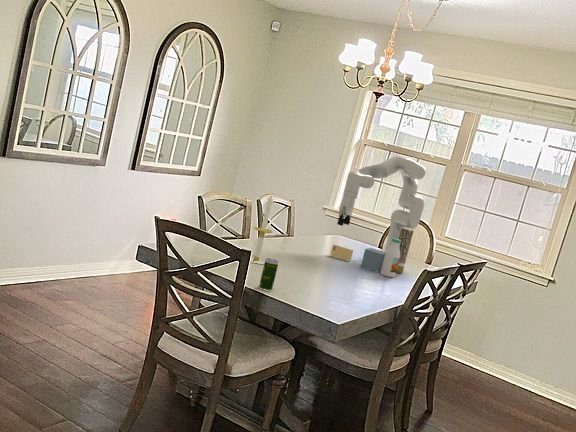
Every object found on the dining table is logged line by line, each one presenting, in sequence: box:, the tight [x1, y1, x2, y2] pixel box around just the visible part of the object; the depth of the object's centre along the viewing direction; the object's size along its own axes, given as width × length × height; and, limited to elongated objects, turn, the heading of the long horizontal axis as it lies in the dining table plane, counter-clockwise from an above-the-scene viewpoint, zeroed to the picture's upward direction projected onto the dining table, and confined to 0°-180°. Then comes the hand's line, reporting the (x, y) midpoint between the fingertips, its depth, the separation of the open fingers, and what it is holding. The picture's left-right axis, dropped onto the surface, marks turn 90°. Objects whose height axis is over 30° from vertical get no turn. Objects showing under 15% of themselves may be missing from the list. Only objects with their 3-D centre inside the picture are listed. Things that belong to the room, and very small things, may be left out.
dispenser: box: [360, 247, 386, 273], centre depth 365 cm, size 10×10×10 cm
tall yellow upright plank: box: [329, 243, 354, 262], centre depth 373 cm, size 1×12×6 cm, turn 65°
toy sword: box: [253, 193, 273, 262], centre depth 311 cm, size 10×10×32 cm
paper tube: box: [396, 227, 415, 274], centre depth 373 cm, size 7×7×25 cm
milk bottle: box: [380, 238, 401, 278], centre depth 356 cm, size 8×8×20 cm
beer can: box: [258, 257, 279, 291], centre depth 266 cm, size 5×5×12 cm
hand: (343, 224), depth 373 cm, fingers open, 9 cm apart
